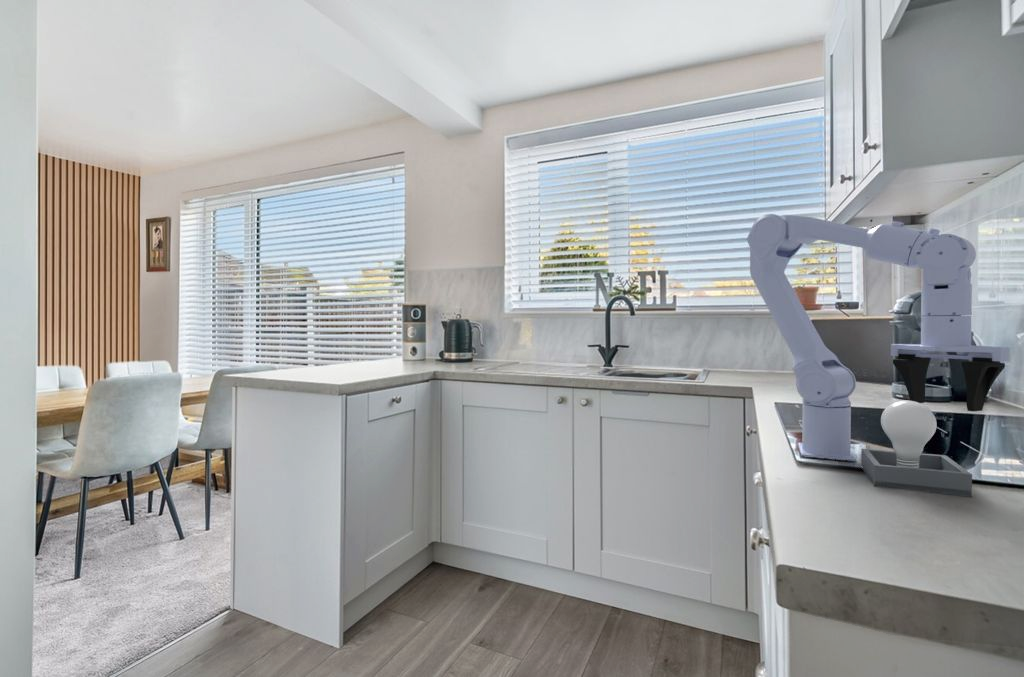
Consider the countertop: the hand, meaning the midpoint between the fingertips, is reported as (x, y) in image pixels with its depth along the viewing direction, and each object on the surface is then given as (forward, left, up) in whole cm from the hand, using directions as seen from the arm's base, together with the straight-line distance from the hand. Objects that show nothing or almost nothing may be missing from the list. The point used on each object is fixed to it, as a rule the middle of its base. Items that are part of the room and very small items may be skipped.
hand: (944, 406), depth 76 cm
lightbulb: (+6, -6, -10) cm, 13 cm away
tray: (+5, -5, -10) cm, 13 cm away
